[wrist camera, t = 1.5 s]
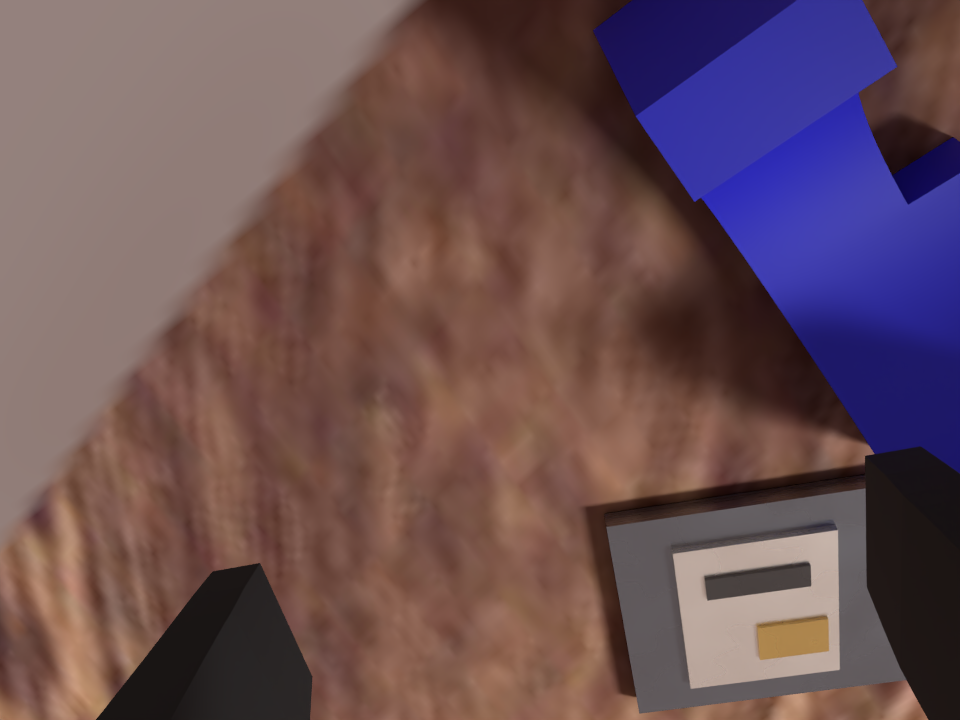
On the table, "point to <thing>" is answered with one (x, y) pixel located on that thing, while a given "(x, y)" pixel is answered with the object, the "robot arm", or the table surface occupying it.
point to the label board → (749, 596)
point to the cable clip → (812, 193)
